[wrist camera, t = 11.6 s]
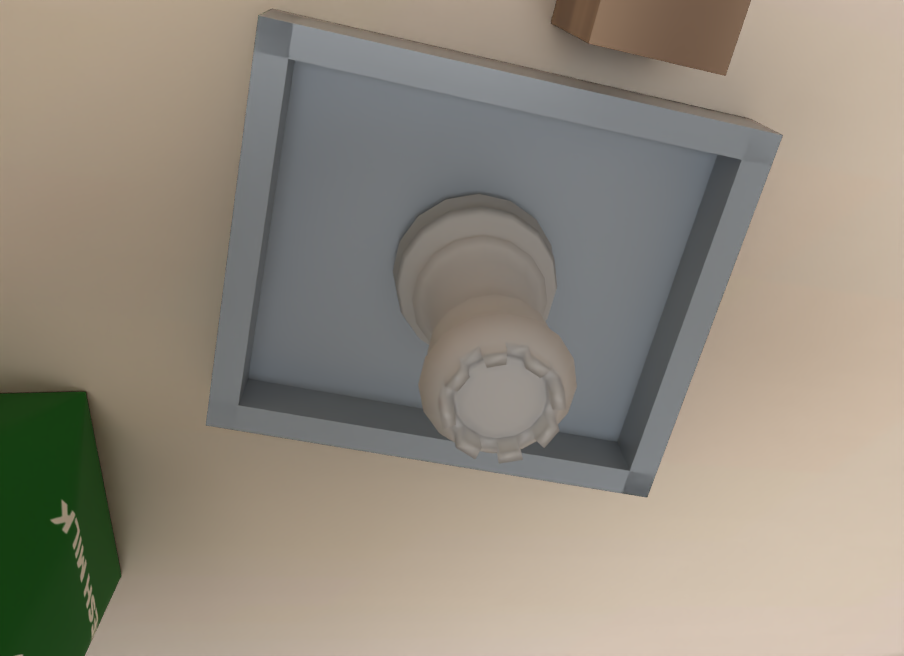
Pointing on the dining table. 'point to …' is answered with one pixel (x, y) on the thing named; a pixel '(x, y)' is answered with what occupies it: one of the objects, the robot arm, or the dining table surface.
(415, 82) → the tray
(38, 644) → the milk carton
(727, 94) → the dining table surface
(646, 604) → the dining table surface
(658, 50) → the walnut posts
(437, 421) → the rook chess piece
